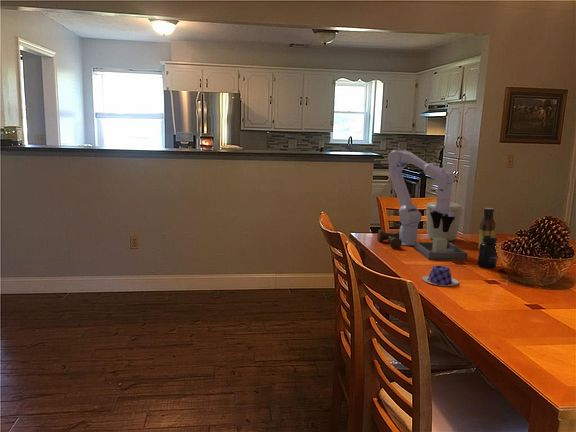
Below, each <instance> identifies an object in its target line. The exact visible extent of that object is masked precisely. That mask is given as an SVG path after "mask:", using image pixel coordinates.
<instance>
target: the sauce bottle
mask: <svg viewBox="0 0 576 432" xmlns="http://www.w3.org/2000/svg"><path fill="white" fill-rule="evenodd" d="M494 212H495V208H493V207H484V208H483V218H482V220H481V221H480V226H479V235H478V247H477V248H478V249H479V248H480V244H481V243H482V242H484V241H483V238H484V236H494V237H496V236H495V235H496V222H495V220H494Z"/></svg>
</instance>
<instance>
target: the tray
mask: <svg viewBox="0 0 576 432" xmlns="http://www.w3.org/2000/svg"><path fill="white" fill-rule="evenodd" d="M432 243H433V241H431V242H429V241H417V242H415V245H414V249H415V250H416V251H417V252H418V253H419V254H421V255H422V256H423V257H425V258H426V259H427V260H431V261H433V260H434V261H437V260H438V261H439V260H441V261H442V260H443V261H468V252H467V251H465V250H463V249H461V248H460V247H458V246H457V245H455V244H453V243H452V242H447V249H446V252H433V251H432Z"/></svg>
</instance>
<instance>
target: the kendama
mask: <svg viewBox="0 0 576 432" xmlns="http://www.w3.org/2000/svg"><path fill="white" fill-rule="evenodd" d="M377 231H378V232H377V237H376V238H377V242H378V241H379V243H381V242H384V241H386V240H387V242H388V245H390V247H391V248H392V249H393V248H398V249H400V248H401V247H402V243H401V240H400V239H399V234H400V231H399V230H395V231H393V232H385V231H384V230H382V229H378V230H377Z"/></svg>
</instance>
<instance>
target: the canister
mask: <svg viewBox="0 0 576 432" xmlns="http://www.w3.org/2000/svg"><path fill="white" fill-rule="evenodd" d="M436 202H437V201H430V202H428V203H427V204H425V205H424V206H425V208H426V232H427V236H428V238H429V239H431V240H433V237H441V238H445V239H447V242H452V241H454V240H456V238H457V236H458V232H459V228H460V225H461V220H462V215H463V210H465V207H464V206H463V205H462V204H459V203H456V202H451V201H450V210H451V211H452V212H454V217H455V219H454V220H453V222H452V223H451V225H450V228H449V231H448V232H443V223H442V218H441V221H440V226H439V228H434V226H433V220H432V217H431V215H430V212H433V211H432V207H436ZM442 216H445V215H444V214H443V215H442Z"/></svg>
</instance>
